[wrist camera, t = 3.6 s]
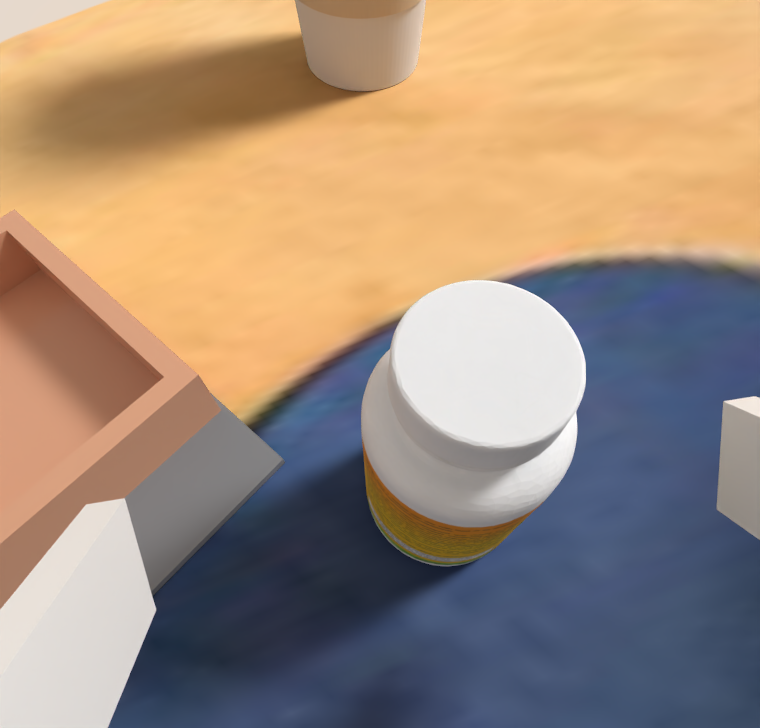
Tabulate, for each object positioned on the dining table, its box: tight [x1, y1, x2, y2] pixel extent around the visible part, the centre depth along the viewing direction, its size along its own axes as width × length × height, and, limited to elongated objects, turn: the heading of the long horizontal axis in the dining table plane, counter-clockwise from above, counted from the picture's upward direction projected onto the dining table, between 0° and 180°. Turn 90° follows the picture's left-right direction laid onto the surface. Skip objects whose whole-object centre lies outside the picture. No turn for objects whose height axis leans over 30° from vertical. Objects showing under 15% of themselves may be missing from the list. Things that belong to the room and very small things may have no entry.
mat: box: [125, 393, 285, 596], centre depth 20 cm, size 16×12×1 cm
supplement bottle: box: [361, 280, 586, 566], centre depth 15 cm, size 5×5×10 cm
